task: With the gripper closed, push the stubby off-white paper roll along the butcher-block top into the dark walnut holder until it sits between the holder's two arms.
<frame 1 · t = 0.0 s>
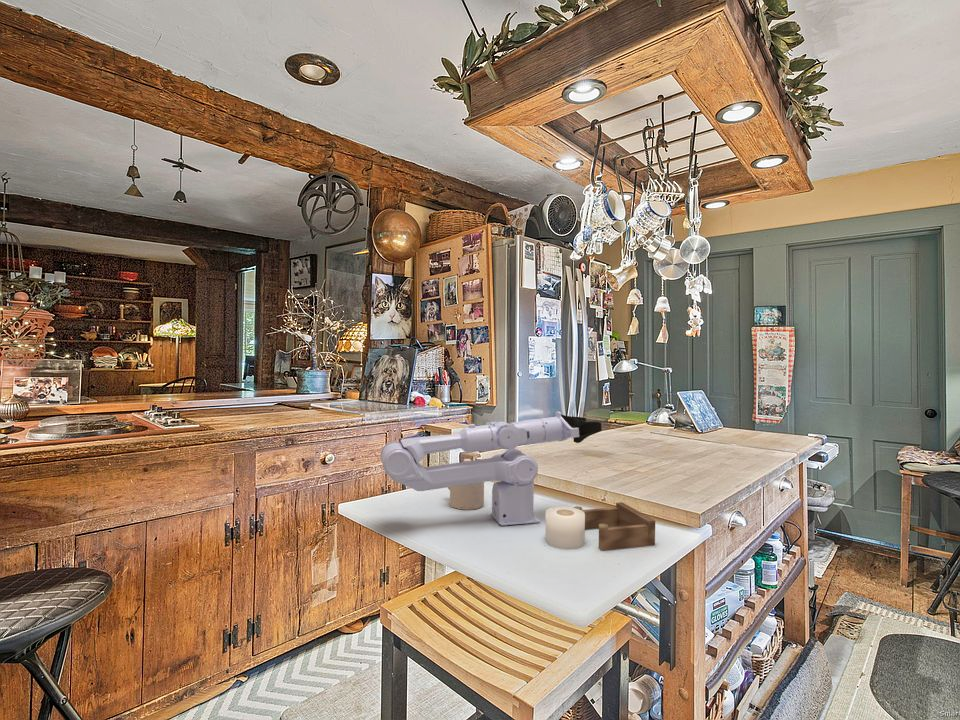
hand: (592, 424, 119), 22 cm above the kitchen island, tool horizontal, fingers open, 7 cm apart
holder: (608, 536, 104), on the kitchen island
teacup with lid: (462, 504, 125), on the kitchen island
roll: (564, 541, 101), on the kitchen island
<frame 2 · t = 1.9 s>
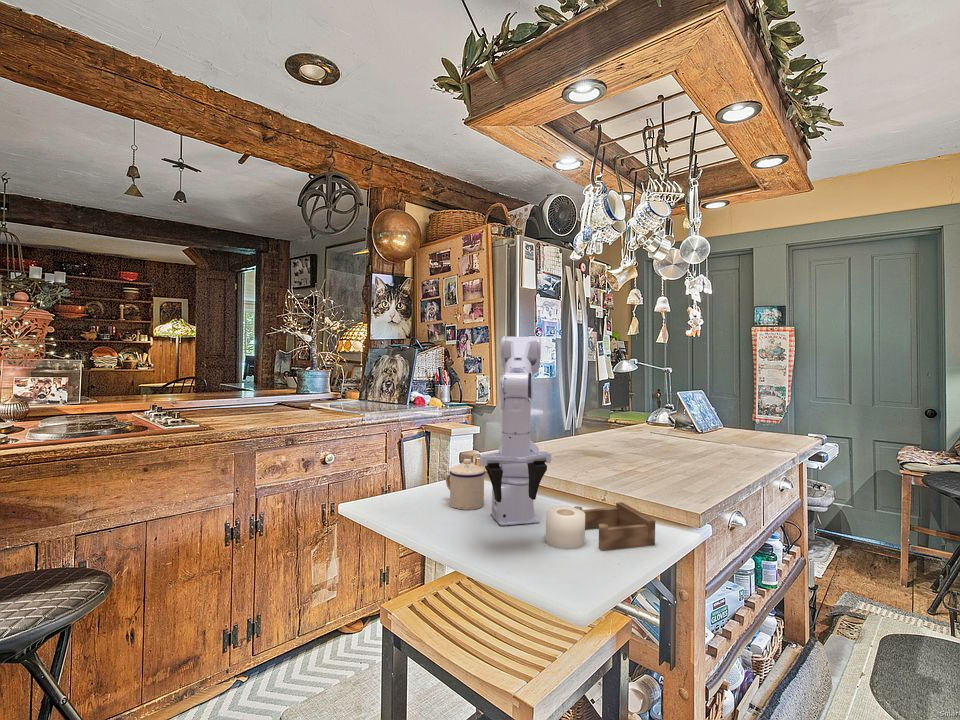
hand: (515, 499, 98), 9 cm above the kitchen island, tool pointing down, fingers open, 7 cm apart
nothing on the kitchen island moved.
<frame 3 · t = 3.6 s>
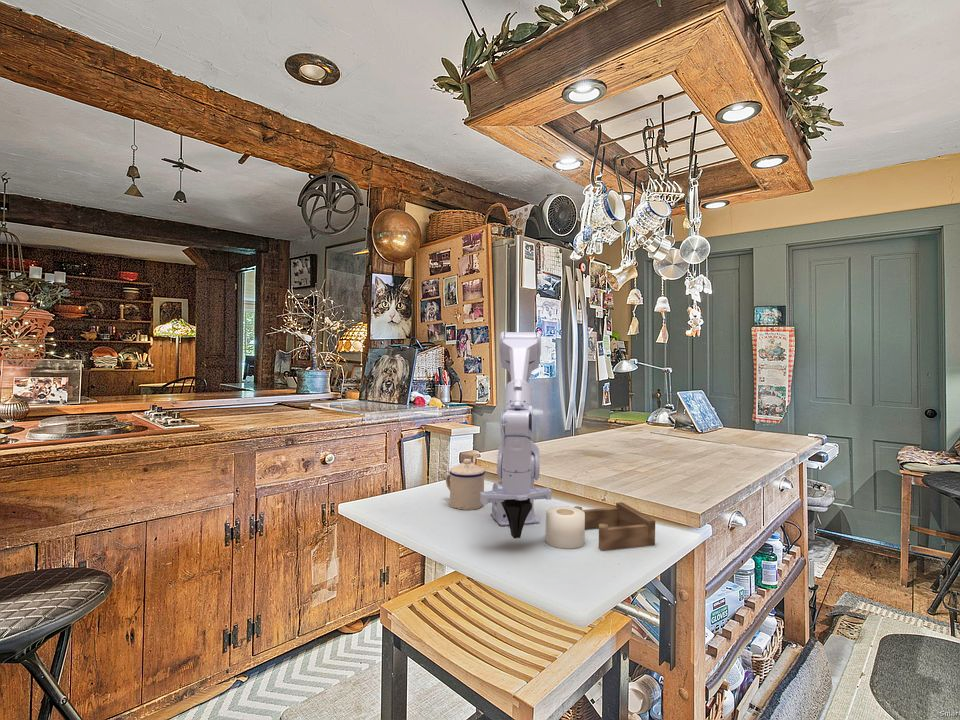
hand: (515, 536, 98), 2 cm above the kitchen island, tool pointing down, fingers closed
nothing on the kitchen island moved.
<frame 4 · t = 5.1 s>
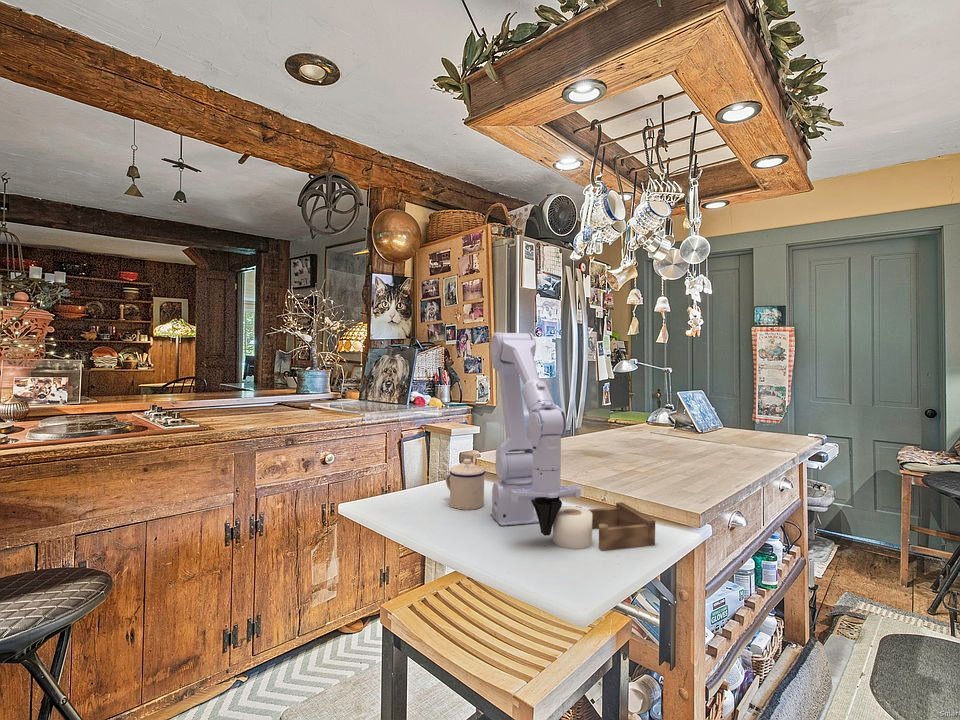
hand: (545, 533, 100), 2 cm above the kitchen island, tool pointing down, fingers closed
roll: (572, 541, 101), on the kitchen island, touching gripper
everything else where it was.
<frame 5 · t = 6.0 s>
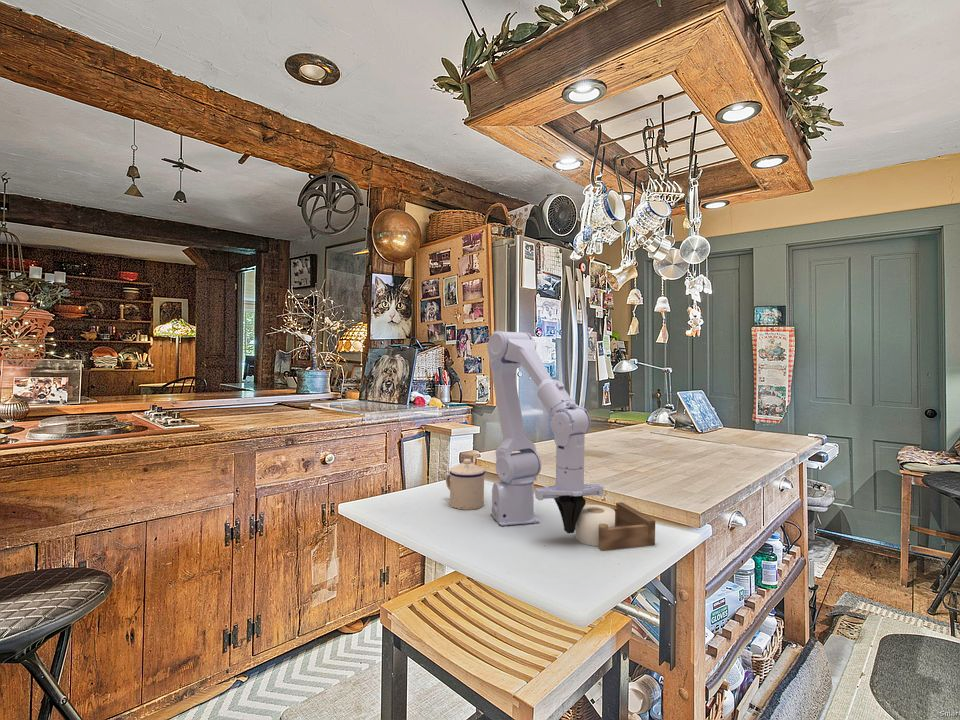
hand: (569, 531, 101), 2 cm above the kitchen island, tool pointing down, fingers closed
roll: (594, 538, 102), on the kitchen island, touching gripper
everything else where it was.
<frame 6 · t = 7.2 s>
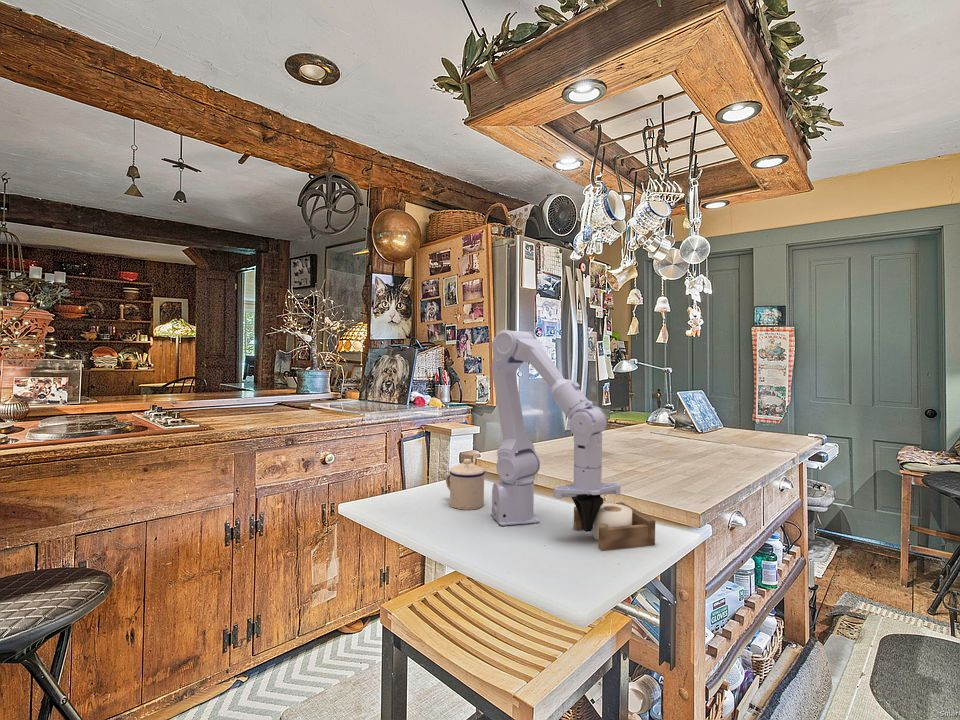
hand: (586, 529, 102), 2 cm above the kitchen island, tool pointing down, fingers closed
roll: (612, 537, 103), on the kitchen island, touching gripper
everything else where it was.
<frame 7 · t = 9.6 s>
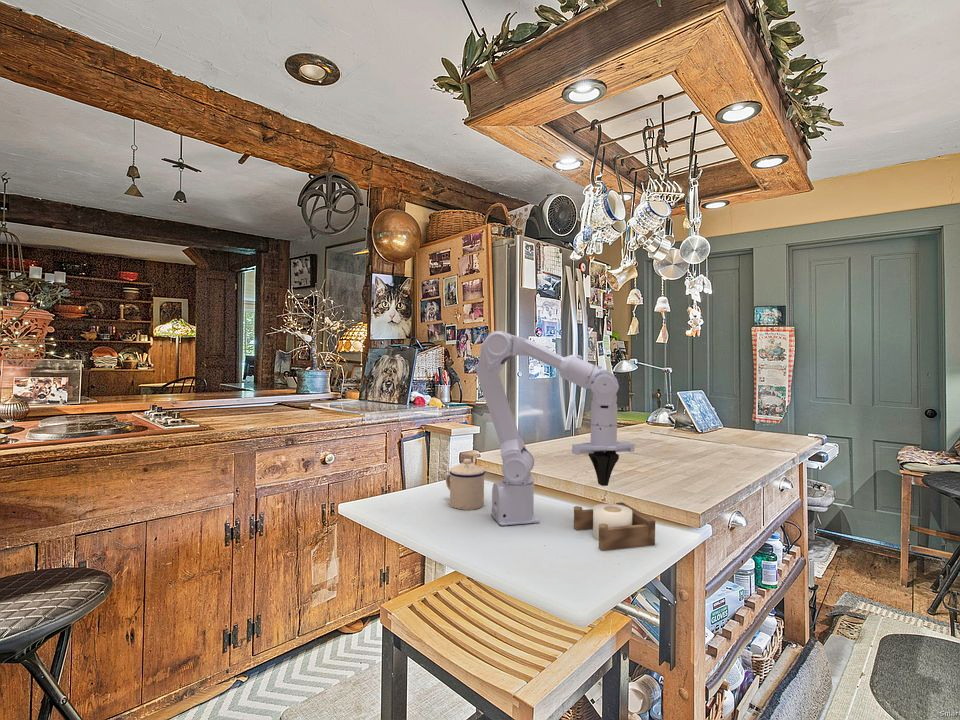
hand: (603, 484, 110), 9 cm above the kitchen island, tool pointing down, fingers closed
roll: (612, 537, 103), on the kitchen island
everything else where it was.
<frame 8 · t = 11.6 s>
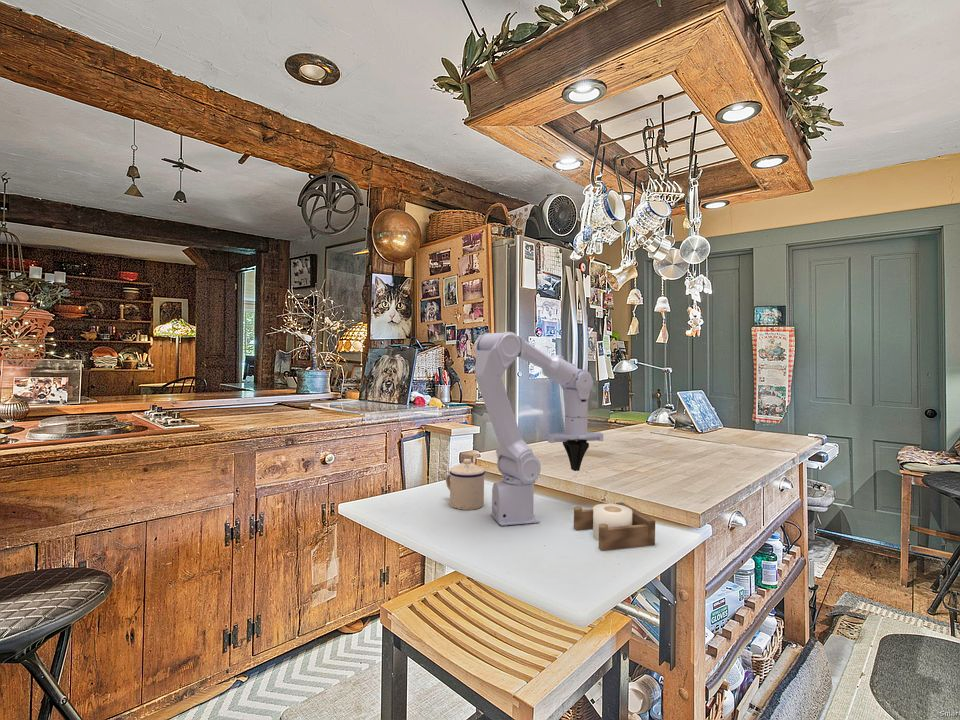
hand: (575, 470, 123), 9 cm above the kitchen island, tool pointing down, fingers closed
nothing on the kitchen island moved.
at the end: roll 0.5 cm from the target spot on the holder, point 0.0 cm above the holder's base; roll tilted 0°; teacup with lid moved 0.2 cm from its start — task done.
